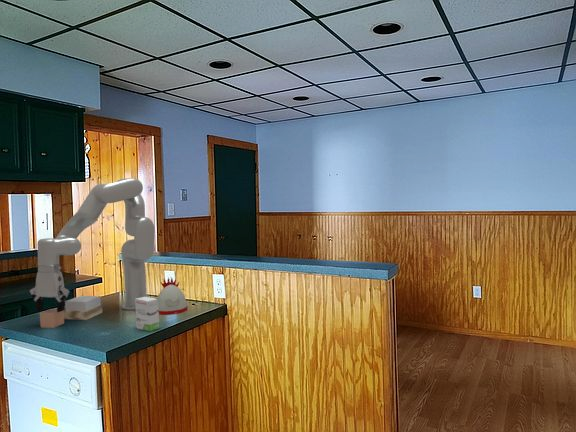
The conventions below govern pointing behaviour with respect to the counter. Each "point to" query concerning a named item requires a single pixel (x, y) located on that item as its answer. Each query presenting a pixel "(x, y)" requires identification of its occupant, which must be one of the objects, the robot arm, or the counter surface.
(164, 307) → the white dome with spikes
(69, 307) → the grey top slab
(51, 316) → the terracotta cube
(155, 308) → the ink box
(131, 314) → the counter surface
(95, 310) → the maple base slab
